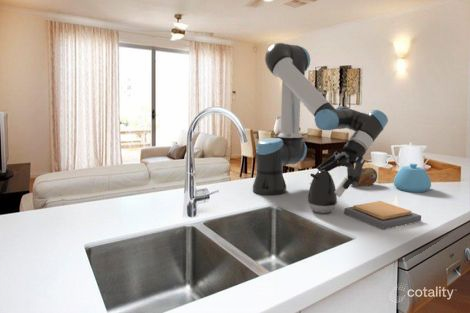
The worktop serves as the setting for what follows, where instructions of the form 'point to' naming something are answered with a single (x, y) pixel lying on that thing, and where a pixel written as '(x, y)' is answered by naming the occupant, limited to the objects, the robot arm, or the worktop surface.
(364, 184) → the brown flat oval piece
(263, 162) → the robot arm
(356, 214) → the dock
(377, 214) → the pad
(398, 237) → the worktop surface
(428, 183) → the sugar bowl
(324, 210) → the dark rounded piece
